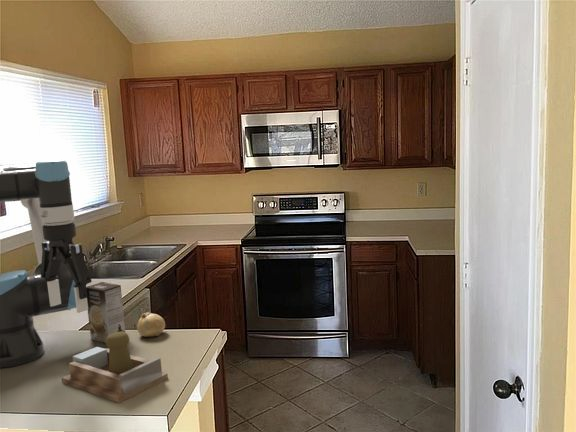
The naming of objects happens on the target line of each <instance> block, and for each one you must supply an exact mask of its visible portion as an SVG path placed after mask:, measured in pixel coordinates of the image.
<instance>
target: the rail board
mask: <svg viewBox="0 0 576 432" xmlns="http://www.w3.org/2000/svg"><path fill="white" fill-rule="evenodd" d="M105 349H107V357H108V365H106V366H104V367H101V368H99V369H98V368H95V367H92V366H89V365H85V364H82V363H79V362H76V361H74V362H73V361H72V362H69V363H68V367H69V368H68V369H69V374H66V375H65V376H62V377H61V382H62V383H63V384H66V385H68V386H72V387H74V388H77V389H80V390H83V391H84V392H88V393H91V394H94V395H96V396H99V397H102V398H105V399H107V400H109V401H113V402H116V403H119V404H120V403H123V402H124V401H126V400H128V399H130V398H132V397H133V396H136V395H138V394H140V393H141V392H143V391H145V390H147V389H150V388H152V387H154V386H155V385H157V384H160V383H162V382H163V381H165V380H168V379H169V377H168V373H167V372H164V371H162V369H163V368H162V361H161V358H160V357H154V358H152V359H151V360H150V359H147V358H144V357H140V356H135V355H133V354H130V358H131V362H132V366H133V369H131V370H128V371H126V372H124V373H122V374H120V375H117V374H114V373H111V372H109V348H108V347H107V348H106V347H105Z"/></svg>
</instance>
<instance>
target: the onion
mask: <svg viewBox="0 0 576 432" xmlns="http://www.w3.org/2000/svg"><path fill="white" fill-rule="evenodd" d="M137 322H138V323H137V326H136V329H137V332H138V334H139V335H140V336H142V337H144V338H145V337H159V336H160V335H161V334H162V333H163V331H164V330H165V327H166V322H165V319H164V318H163V317H162V316H160V315H159V314H157V313H152V312H149V311H147V312H145V313H142V314H141V317H140V318H139V320H138V321H137Z"/></svg>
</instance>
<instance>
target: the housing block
mask: <svg viewBox="0 0 576 432" xmlns="http://www.w3.org/2000/svg"><path fill="white" fill-rule="evenodd" d="M107 349H108V348H107ZM107 349H106V348H103V347H99V346H96V347H93V348H90V349H88V350H86V351H83V352H80V353H77V354H75V355H72V362H74V361H76V362H79V363H82V364H85V365H89V366H92V367H95V368H98V369H99V368H101V367H104V366H106V365H108V357H107Z"/></svg>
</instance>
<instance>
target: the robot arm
mask: <svg viewBox="0 0 576 432" xmlns="http://www.w3.org/2000/svg"><path fill="white" fill-rule="evenodd" d="M70 174H71V173H70V170H69V165H68V162H67V161H66V160H63V159H61V160H45V161H37V162H34V163H20V164H19V163H18V164H2V165H0V202H1V203H4V202H19V201H20V203H21V205H22V206H23V207H24V208H26V209H27V211H28V216H29V221H30V228H31V232H32V237H33V241H34V248H35V253H36V257H37V262H38V264H37V265H36V266H35V267H34V271H33V272H34V273H33V274H29V273H28V272H27V271H26V270H24V269H19V270H12V271H7V272H4V273H1V274H0V369H1V368H2V367H4V368H10V367H16V366H19V365H22V364H26V363H29V362H32V361H34V360H36V359H38V358H39V357H40V358H41V356H42V355H43V354H44V353H45V347H44V342H43V341H42V339H41V337H40V335H39V333H38V331H37V329H36V327H35V324H34V317H37V316H44V315H48V314H54V313H59V312H63V311H71V310H73V309H76V313H77V314H78V313H79V314H80V313H82V312H85V311H88V302H87V290H86V287H87V285H88V284H92V277H91V274H90V271H89V268H88V265H87V263H86V260H85V256H84V254H83V245H82V244H81V243H79V244H74V242H73V239H74V238H75V237H76V236H77V231H76V223H75V222H73V221H74V220H75V214H74V213H75V212H74V205H73V199H72V190H71V181H70Z"/></svg>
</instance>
